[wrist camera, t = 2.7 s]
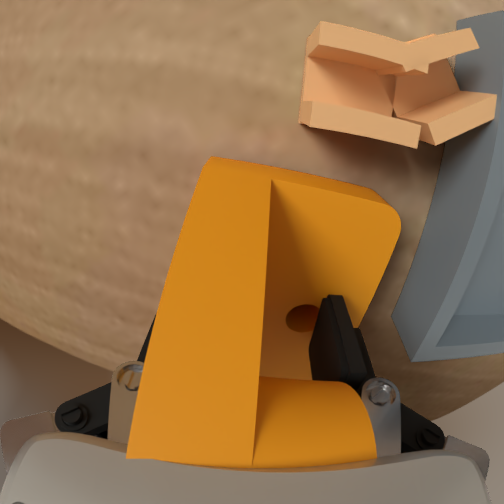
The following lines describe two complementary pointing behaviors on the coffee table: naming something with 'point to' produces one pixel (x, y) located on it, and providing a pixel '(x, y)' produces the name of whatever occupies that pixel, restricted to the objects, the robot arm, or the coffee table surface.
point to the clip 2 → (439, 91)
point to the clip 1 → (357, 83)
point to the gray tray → (463, 226)
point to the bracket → (260, 321)
